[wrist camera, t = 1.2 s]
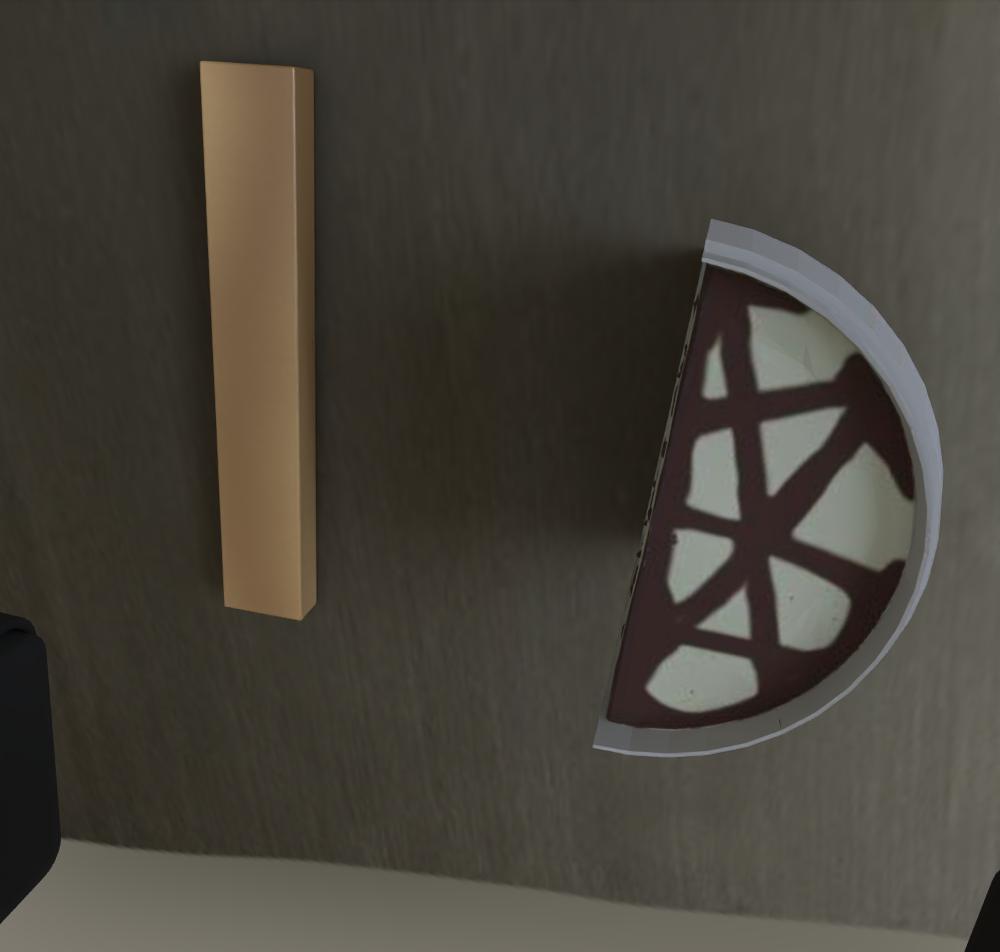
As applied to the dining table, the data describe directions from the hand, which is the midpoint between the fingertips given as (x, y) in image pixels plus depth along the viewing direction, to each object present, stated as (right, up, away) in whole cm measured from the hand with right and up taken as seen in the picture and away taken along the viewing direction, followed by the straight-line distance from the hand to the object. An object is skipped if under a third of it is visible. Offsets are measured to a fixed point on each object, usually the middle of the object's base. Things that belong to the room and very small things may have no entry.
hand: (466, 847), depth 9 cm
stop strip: (-7, +8, +22) cm, 24 cm away
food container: (+9, +5, +19) cm, 22 cm away
